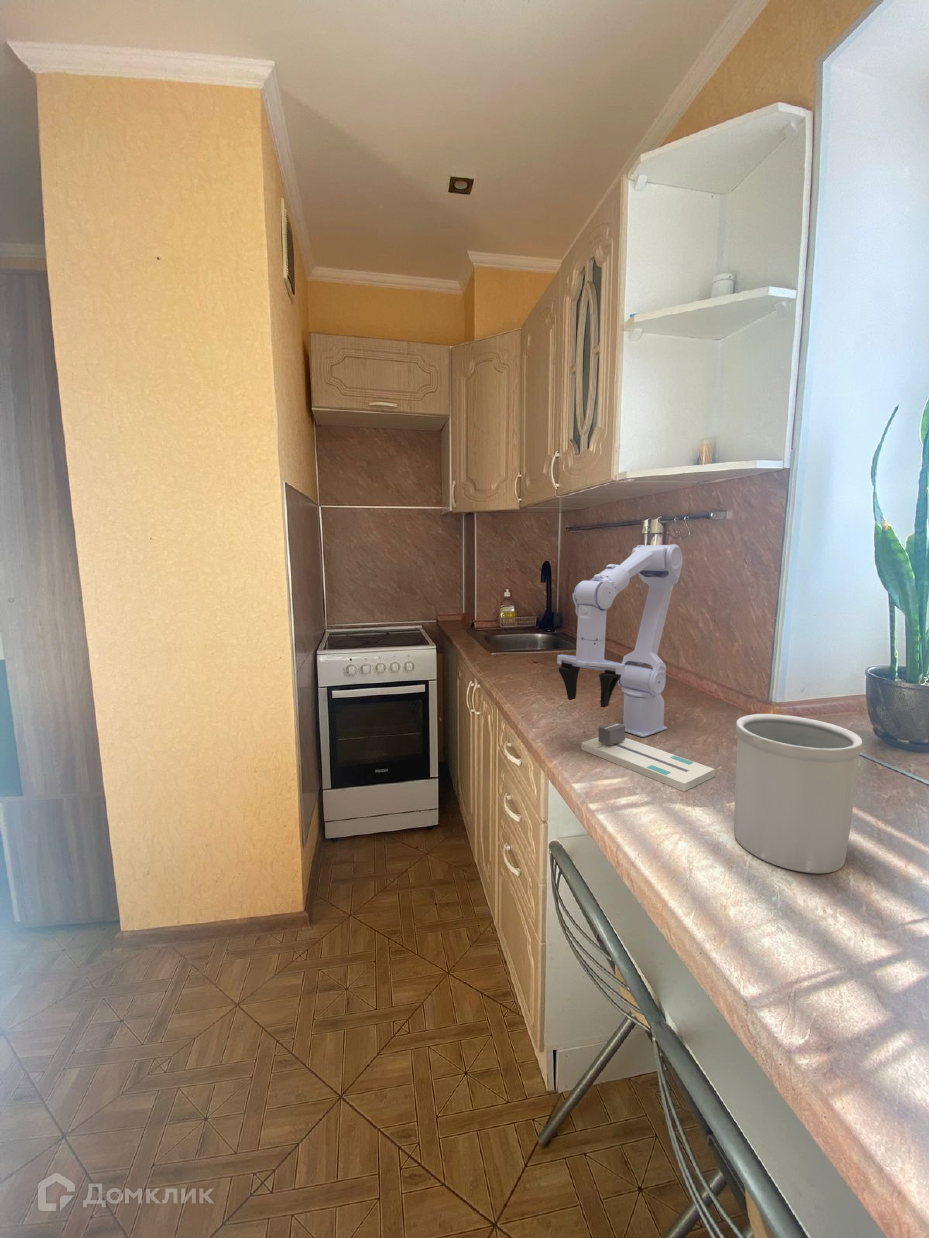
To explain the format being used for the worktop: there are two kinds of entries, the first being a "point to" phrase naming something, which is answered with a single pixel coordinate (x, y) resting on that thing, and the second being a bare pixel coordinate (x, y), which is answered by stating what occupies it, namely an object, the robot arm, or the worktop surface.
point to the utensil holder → (795, 790)
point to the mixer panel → (652, 762)
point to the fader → (611, 733)
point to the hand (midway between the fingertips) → (587, 702)
